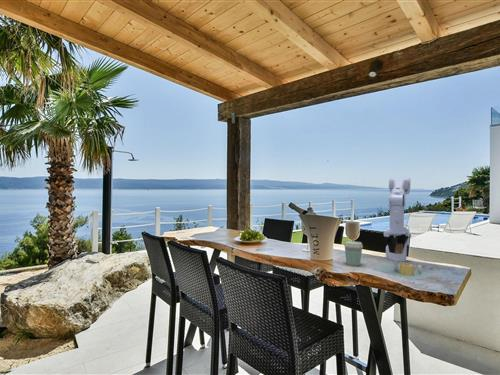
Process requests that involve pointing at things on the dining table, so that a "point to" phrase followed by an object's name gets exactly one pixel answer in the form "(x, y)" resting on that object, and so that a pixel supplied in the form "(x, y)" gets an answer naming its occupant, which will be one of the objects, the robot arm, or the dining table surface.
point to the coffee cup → (353, 252)
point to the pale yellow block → (407, 269)
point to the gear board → (395, 270)
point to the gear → (398, 248)
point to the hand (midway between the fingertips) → (396, 252)
